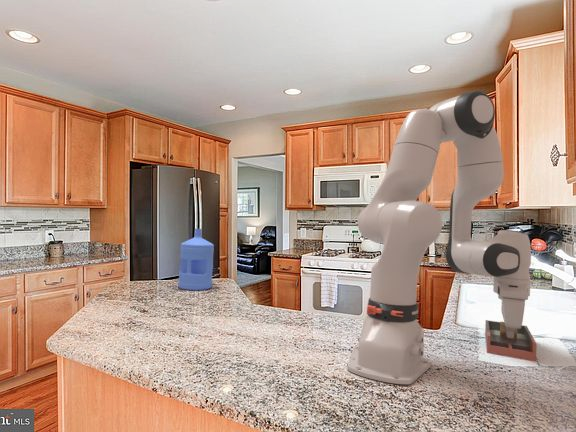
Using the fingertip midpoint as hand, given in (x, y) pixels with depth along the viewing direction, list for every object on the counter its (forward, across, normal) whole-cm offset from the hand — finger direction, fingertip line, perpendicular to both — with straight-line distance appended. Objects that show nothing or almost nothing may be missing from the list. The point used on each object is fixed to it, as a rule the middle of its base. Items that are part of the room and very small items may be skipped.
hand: (509, 336), depth 102 cm
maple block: (+1, -4, 0) cm, 4 cm away
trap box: (+3, -2, 0) cm, 4 cm away
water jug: (+3, -12, -127) cm, 128 cm away
